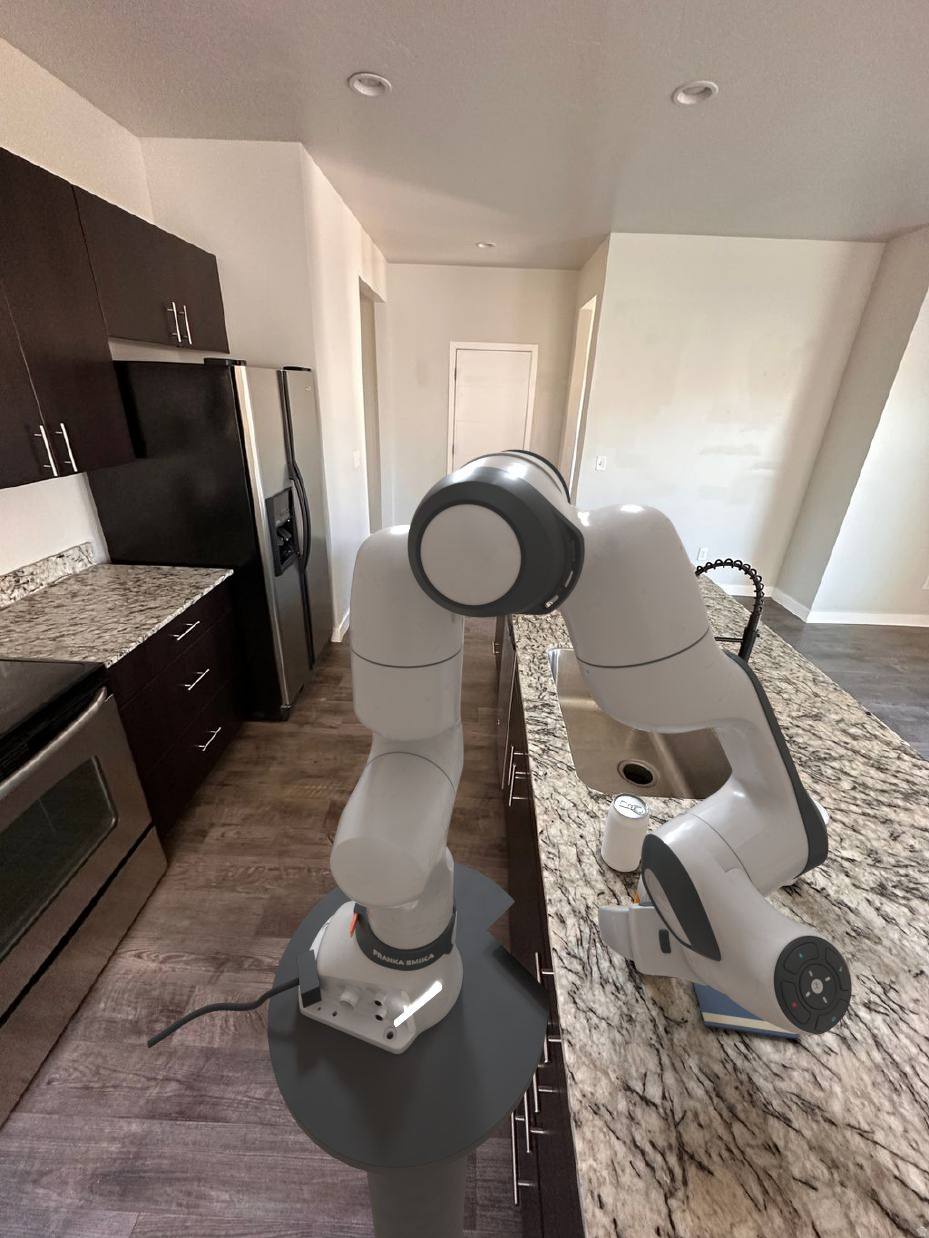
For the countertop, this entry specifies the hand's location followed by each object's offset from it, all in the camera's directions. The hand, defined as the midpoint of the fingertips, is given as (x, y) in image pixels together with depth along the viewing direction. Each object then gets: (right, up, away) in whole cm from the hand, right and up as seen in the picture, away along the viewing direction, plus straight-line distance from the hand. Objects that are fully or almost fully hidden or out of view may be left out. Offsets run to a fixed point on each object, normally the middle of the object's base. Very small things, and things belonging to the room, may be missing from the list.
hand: (658, 911), depth 66 cm
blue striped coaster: (+10, -10, 0) cm, 14 cm away
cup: (+27, -3, +17) cm, 32 cm away
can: (+1, -2, +19) cm, 19 cm away
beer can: (0, -8, +4) cm, 9 cm away
